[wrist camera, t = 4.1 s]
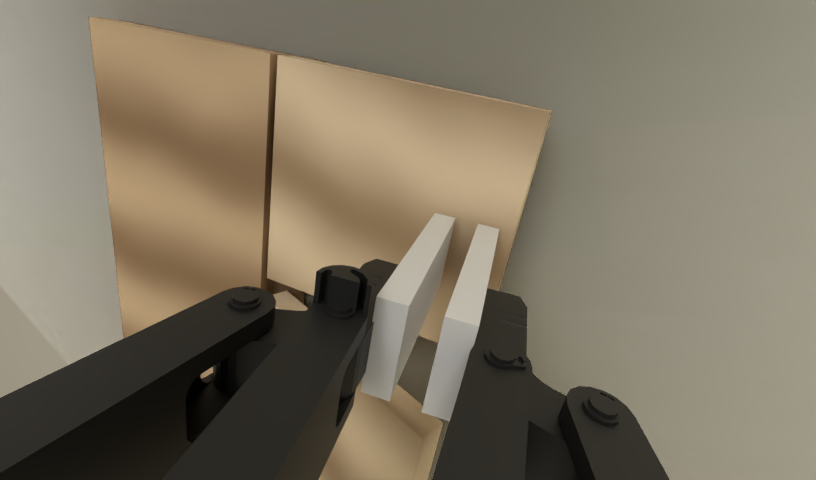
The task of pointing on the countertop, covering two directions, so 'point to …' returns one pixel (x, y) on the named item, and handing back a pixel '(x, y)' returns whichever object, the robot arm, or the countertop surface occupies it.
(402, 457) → the plank
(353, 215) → the plank
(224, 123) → the laid board
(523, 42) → the countertop surface
